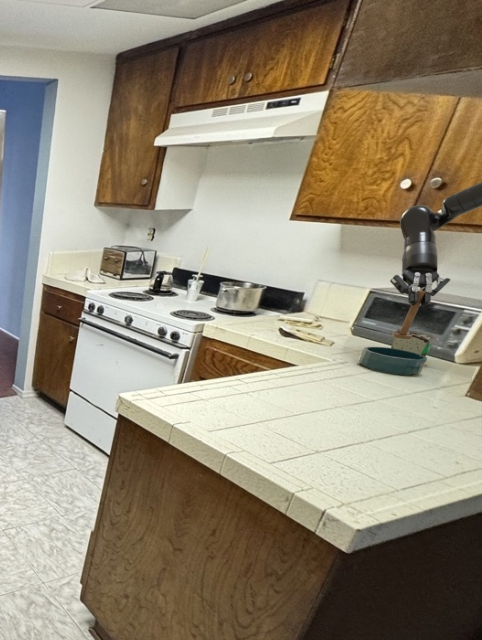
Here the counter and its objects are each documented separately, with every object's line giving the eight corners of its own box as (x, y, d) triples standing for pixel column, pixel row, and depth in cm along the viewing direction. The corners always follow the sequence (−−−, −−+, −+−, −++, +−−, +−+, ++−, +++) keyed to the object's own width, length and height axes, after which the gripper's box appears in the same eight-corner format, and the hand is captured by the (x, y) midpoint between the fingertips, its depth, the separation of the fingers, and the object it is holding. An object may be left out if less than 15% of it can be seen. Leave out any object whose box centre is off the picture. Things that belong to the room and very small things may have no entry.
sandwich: (437, 367, 156) (451, 338, 153) (418, 367, 156) (432, 338, 153) (401, 356, 168) (413, 329, 164) (383, 356, 168) (395, 328, 164)
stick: (407, 336, 151) (428, 290, 146) (413, 339, 148) (434, 292, 142) (389, 334, 153) (409, 289, 147) (394, 337, 149) (415, 291, 144)
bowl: (408, 366, 157) (415, 350, 155) (428, 379, 145) (436, 362, 143) (351, 359, 163) (357, 344, 161) (366, 371, 151) (373, 355, 149)
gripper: (397, 250, 150) (396, 294, 144) (457, 253, 144) (459, 299, 138) (384, 265, 156) (383, 308, 151) (441, 269, 150) (442, 313, 145)
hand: (419, 304), depth 144 cm, fingers closed on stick, 2 cm apart
